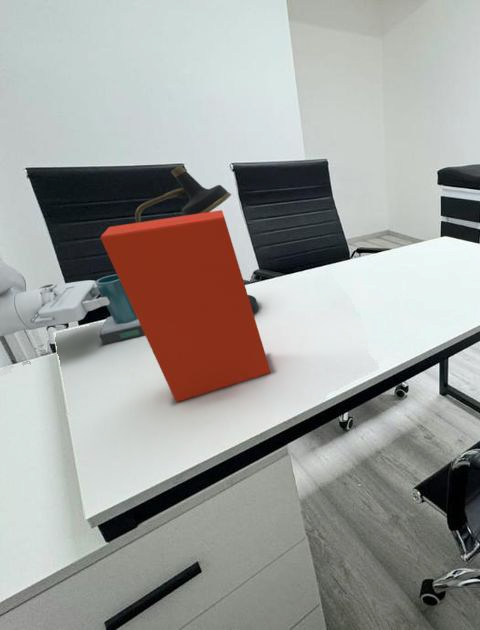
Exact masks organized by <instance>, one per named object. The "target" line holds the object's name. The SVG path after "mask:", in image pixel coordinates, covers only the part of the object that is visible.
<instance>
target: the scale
mask: <svg viewBox="0 0 480 630" xmlns="http://www.w3.org/2000/svg"><path fill="white" fill-rule="evenodd" d="M141 336H145V334H144V331H143V329H142V327H141V325H140V323H139V320H138V319H137V320H135V321H132V322H129V323H124V324H116V323H115V322H114V320H113V319H112V317H111V316H107V317H106V318H105V321H104V323H103V325H102V326H101V329H100V334H99V339H100V340H101V342H102V345H104V346H105V345H109V344H113V343H117V342H121V341H125V340H128V339H129V340H130V339H134V338H137V337H141Z"/></svg>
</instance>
